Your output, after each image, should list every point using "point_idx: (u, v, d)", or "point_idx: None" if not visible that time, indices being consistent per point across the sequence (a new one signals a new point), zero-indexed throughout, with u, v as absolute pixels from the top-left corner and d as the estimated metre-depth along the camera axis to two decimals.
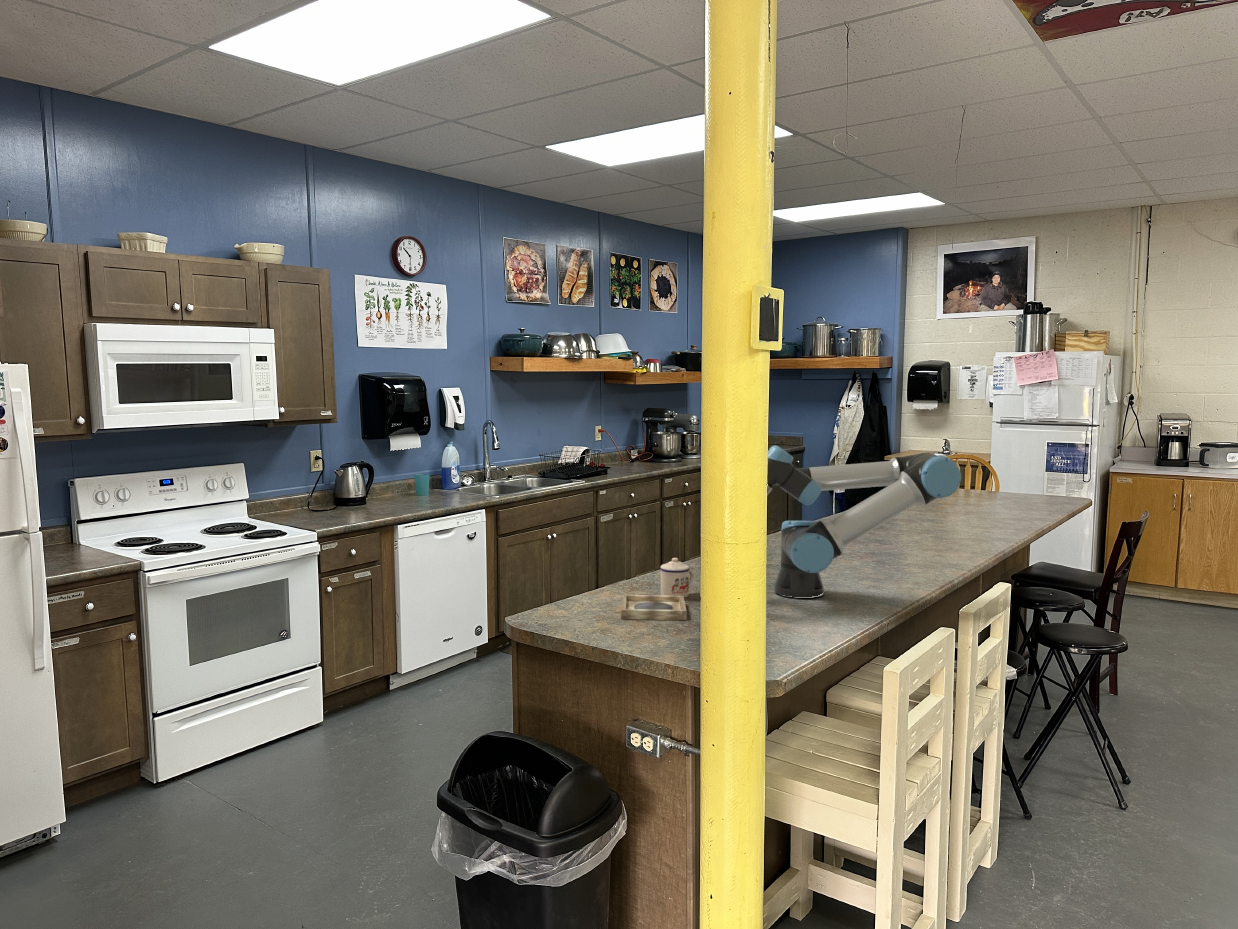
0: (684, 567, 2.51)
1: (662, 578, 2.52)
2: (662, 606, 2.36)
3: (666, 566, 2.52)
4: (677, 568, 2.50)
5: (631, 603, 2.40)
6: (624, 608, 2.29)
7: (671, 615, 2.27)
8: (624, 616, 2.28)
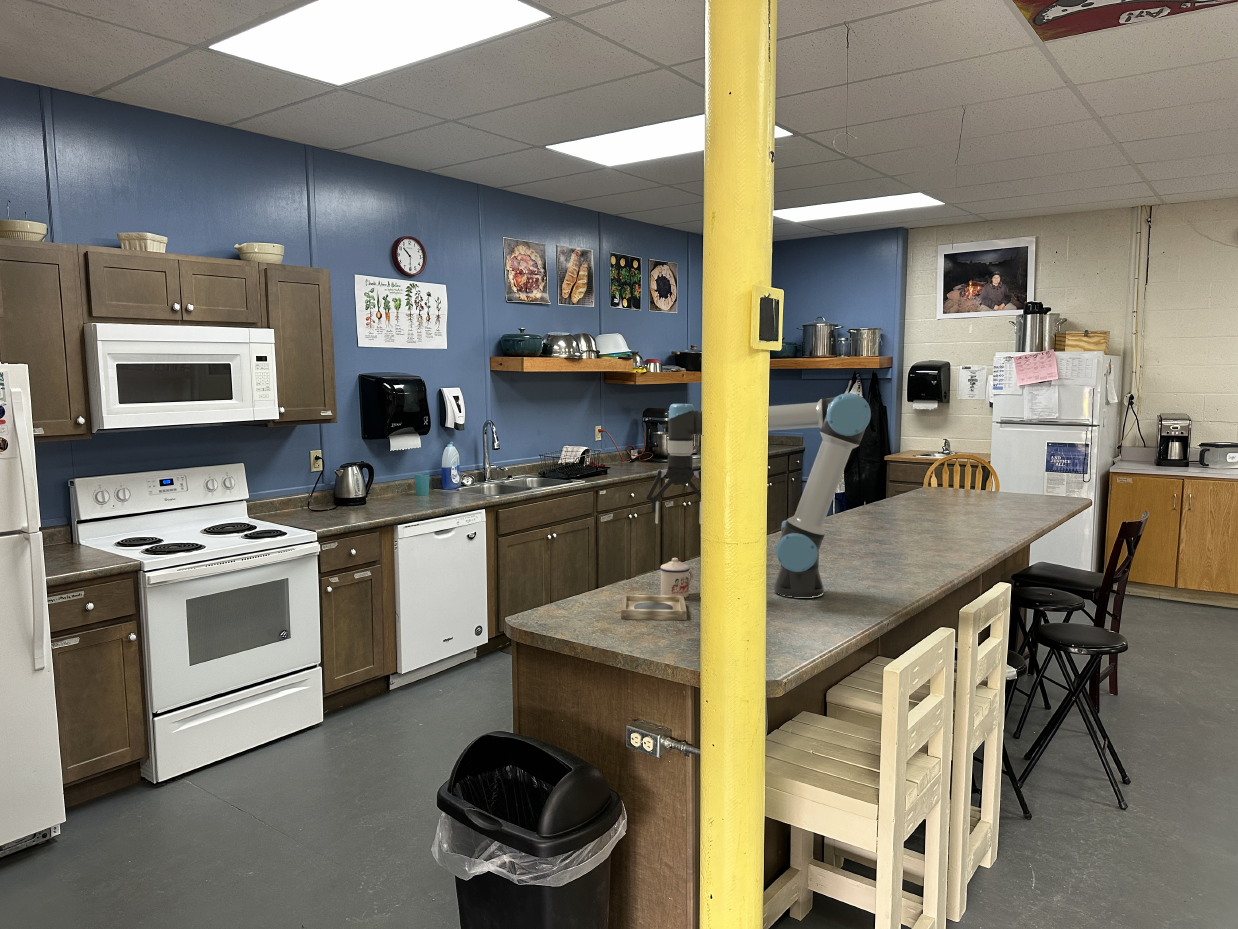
0: (684, 567, 2.51)
1: (662, 578, 2.52)
2: (662, 606, 2.36)
3: (666, 566, 2.52)
4: (677, 568, 2.50)
5: (631, 603, 2.40)
6: (624, 608, 2.29)
7: (671, 615, 2.27)
8: (624, 616, 2.28)
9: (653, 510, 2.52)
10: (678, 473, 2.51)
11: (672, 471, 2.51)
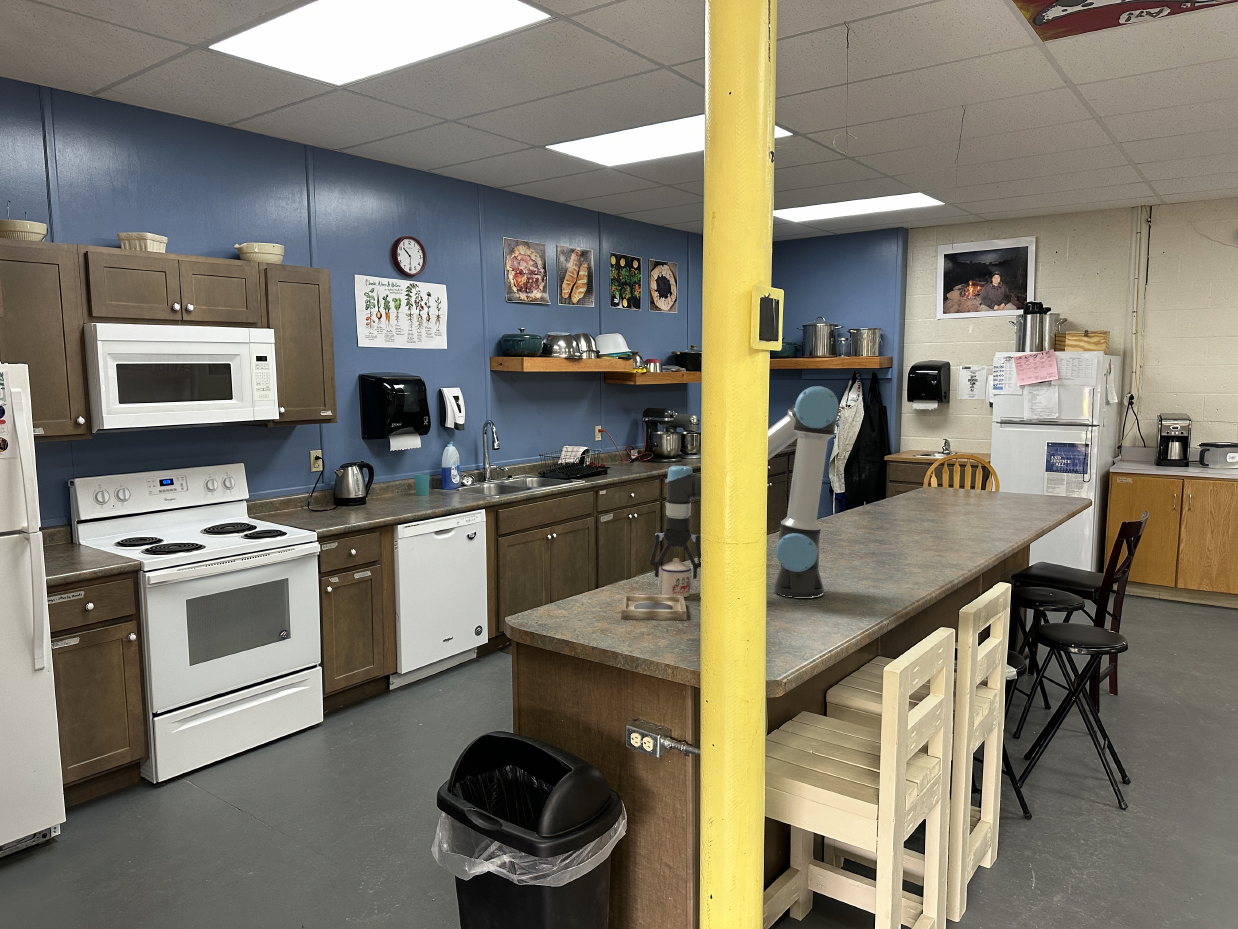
0: (685, 567, 2.51)
1: (663, 578, 2.52)
2: (662, 606, 2.36)
3: (667, 566, 2.52)
4: (678, 568, 2.50)
5: (631, 603, 2.40)
6: (624, 608, 2.29)
7: (671, 615, 2.27)
8: (624, 616, 2.28)
9: (656, 575, 2.54)
10: (675, 533, 2.53)
11: (669, 532, 2.53)
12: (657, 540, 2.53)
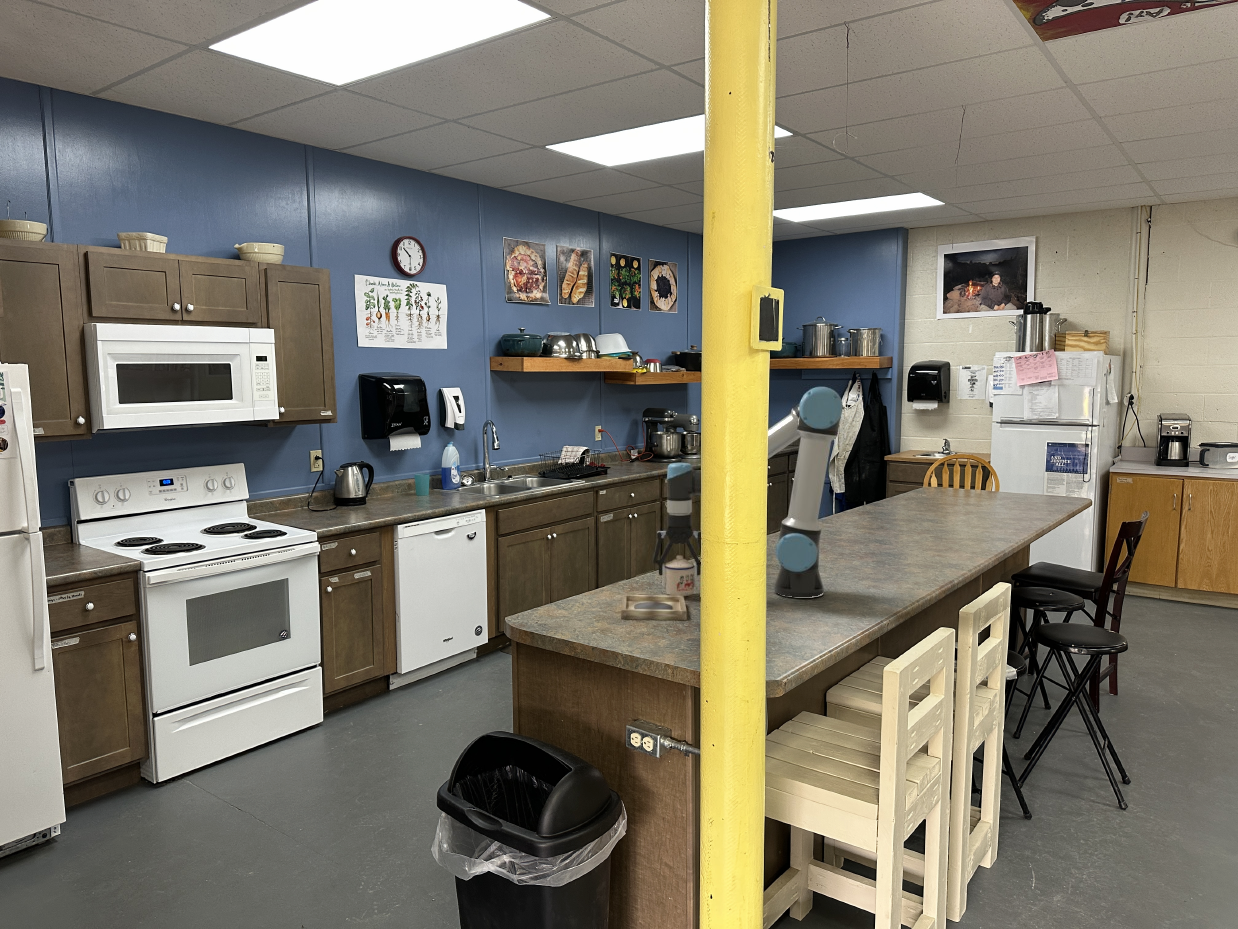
0: (689, 564, 2.51)
1: (667, 576, 2.52)
2: (662, 606, 2.36)
3: (671, 564, 2.51)
4: (682, 565, 2.50)
5: (631, 603, 2.40)
6: (624, 608, 2.29)
7: (671, 615, 2.27)
8: (624, 616, 2.28)
9: (660, 573, 2.54)
10: (677, 530, 2.52)
11: (671, 530, 2.52)
12: (659, 538, 2.52)
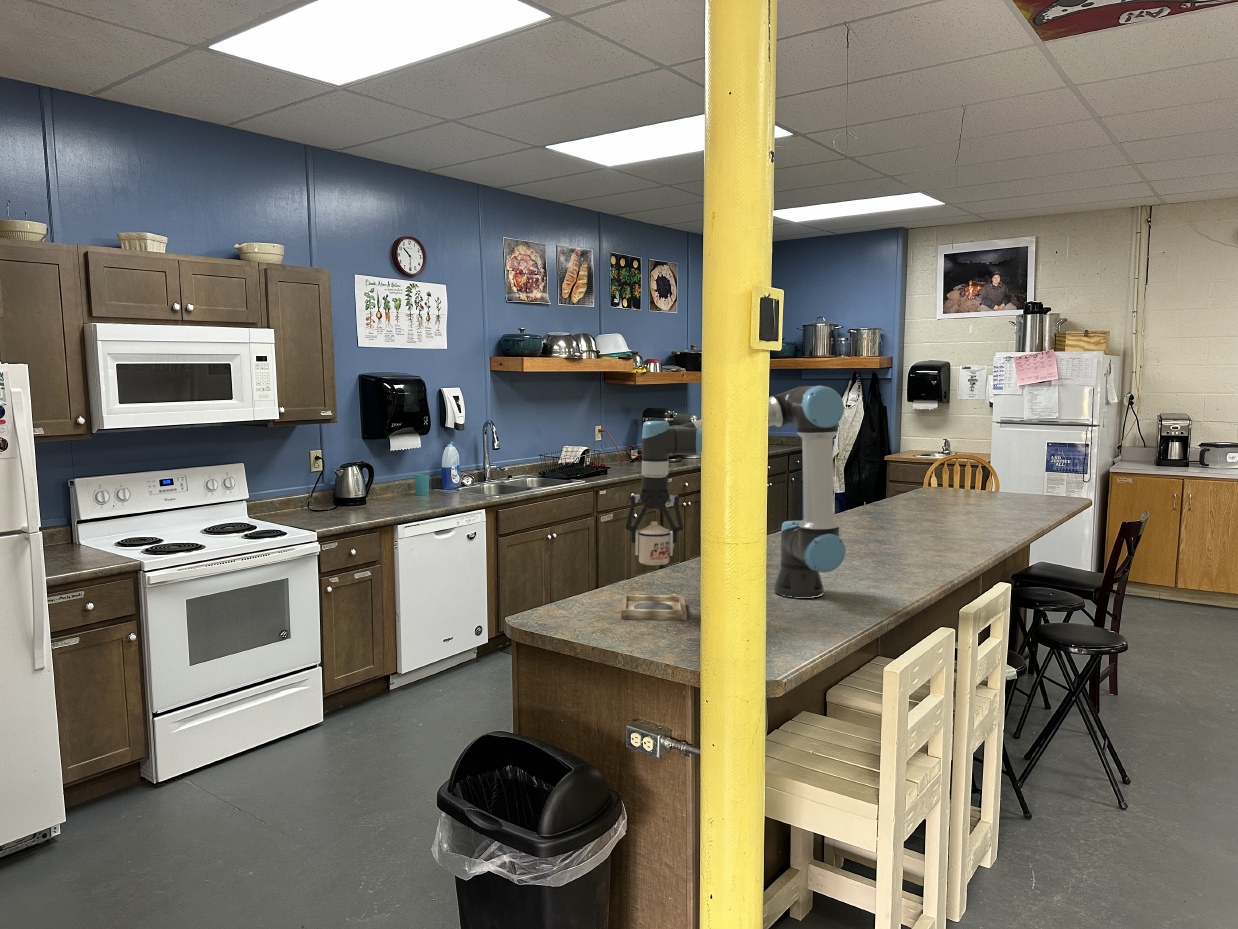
0: (664, 531, 2.30)
1: (640, 543, 2.31)
2: (662, 606, 2.36)
3: (644, 530, 2.31)
4: (656, 532, 2.29)
5: (631, 603, 2.40)
6: (624, 608, 2.29)
7: (671, 615, 2.27)
8: (624, 616, 2.28)
9: (633, 540, 2.34)
10: (652, 494, 2.32)
11: (645, 493, 2.32)
12: (633, 502, 2.32)
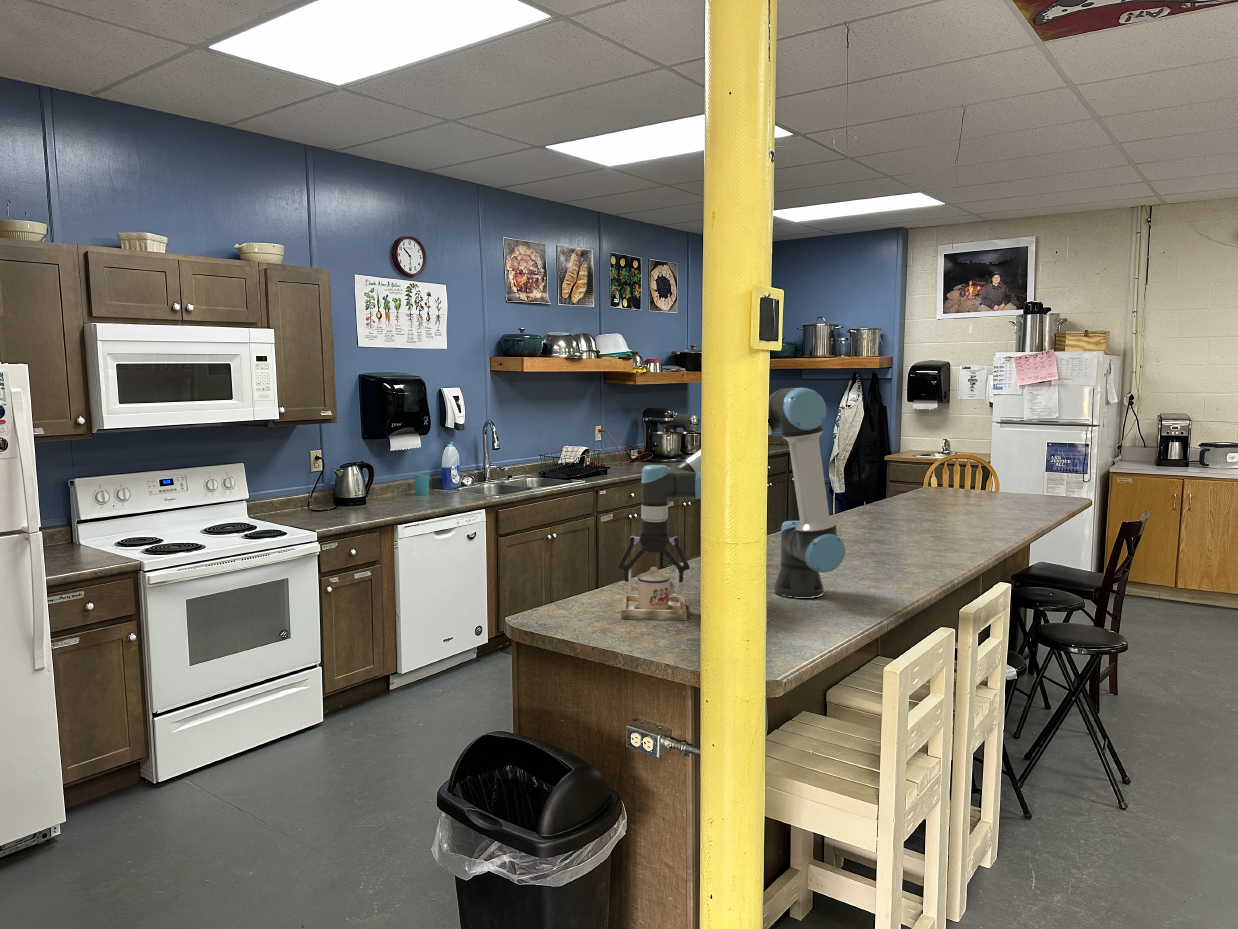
0: (663, 577, 2.32)
1: (640, 589, 2.33)
2: None
3: (644, 576, 2.32)
4: (656, 578, 2.30)
5: (631, 603, 2.40)
6: (624, 608, 2.29)
7: (671, 615, 2.27)
8: (624, 616, 2.28)
9: (625, 579, 2.35)
10: (652, 540, 2.33)
11: (646, 538, 2.33)
12: (631, 543, 2.33)
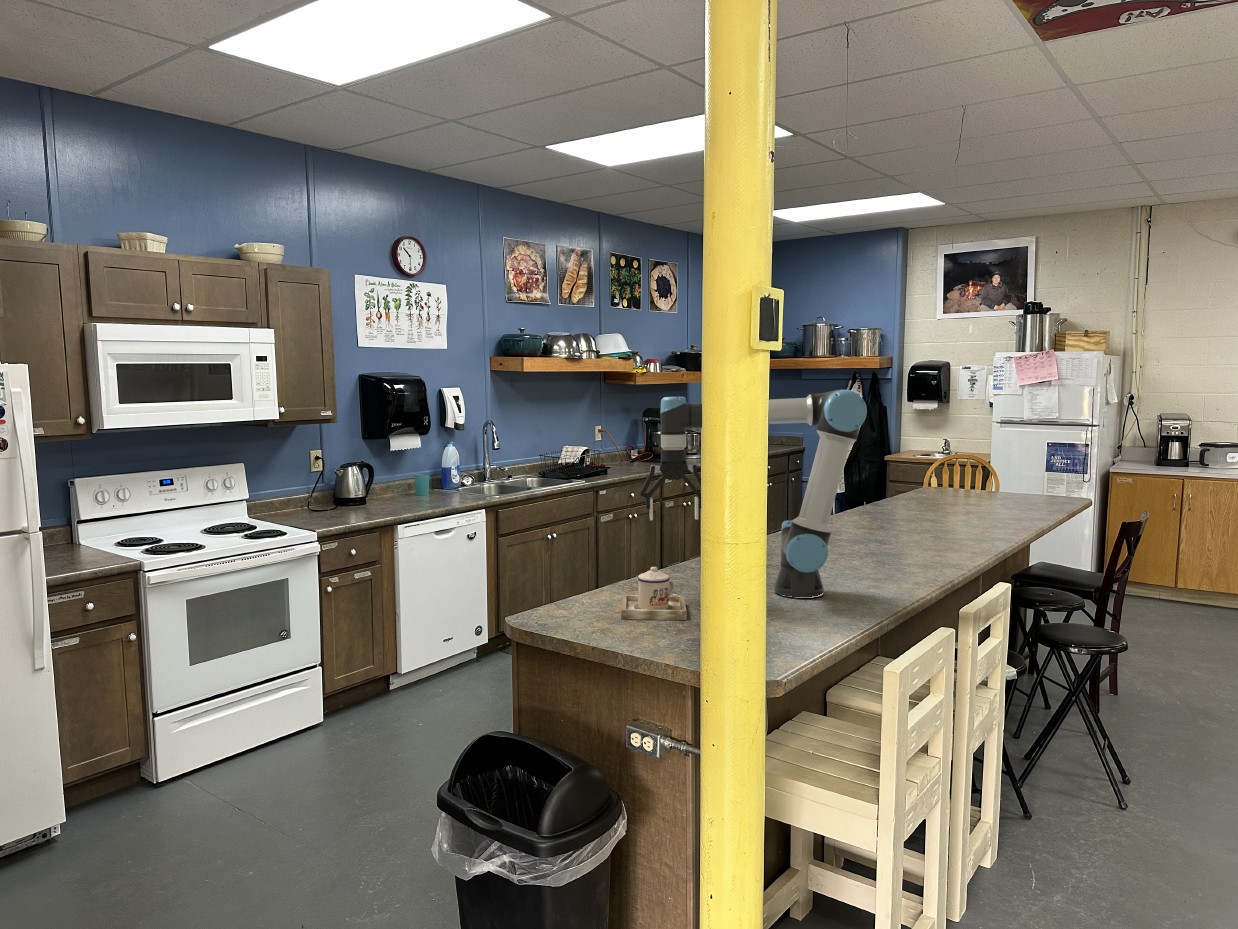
0: (663, 577, 2.32)
1: (640, 589, 2.33)
2: None
3: (644, 576, 2.32)
4: (656, 578, 2.30)
5: (631, 603, 2.40)
6: (624, 608, 2.29)
7: (671, 615, 2.27)
8: (624, 616, 2.28)
9: (647, 506, 2.46)
10: (672, 468, 2.45)
11: (666, 466, 2.45)
12: (652, 472, 2.45)
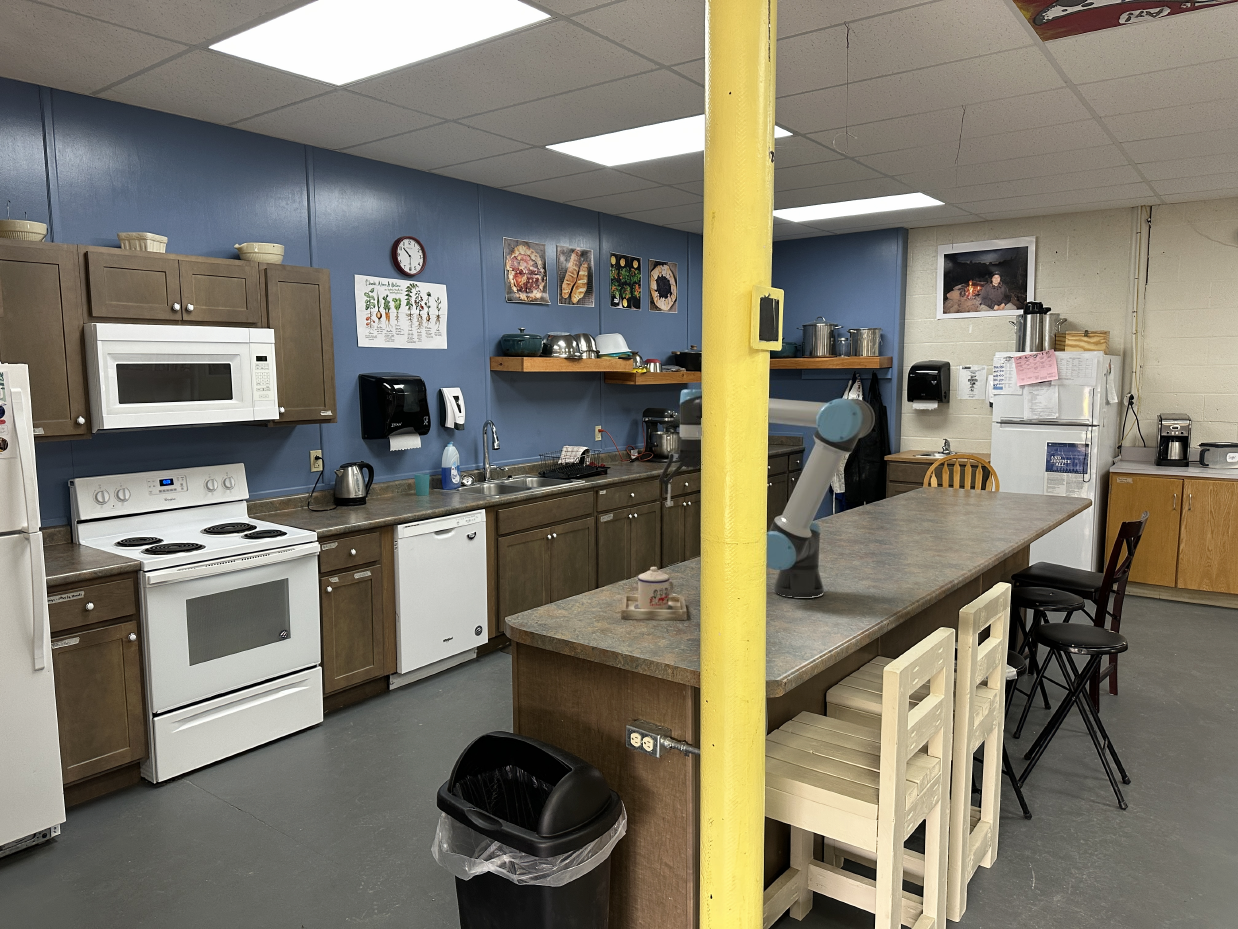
0: (663, 577, 2.32)
1: (640, 589, 2.33)
2: None
3: (644, 576, 2.32)
4: (656, 578, 2.30)
5: (631, 603, 2.40)
6: (624, 608, 2.29)
7: (671, 615, 2.27)
8: (624, 616, 2.28)
9: (665, 492, 2.62)
10: (689, 456, 2.60)
11: (684, 454, 2.60)
12: (671, 459, 2.60)
